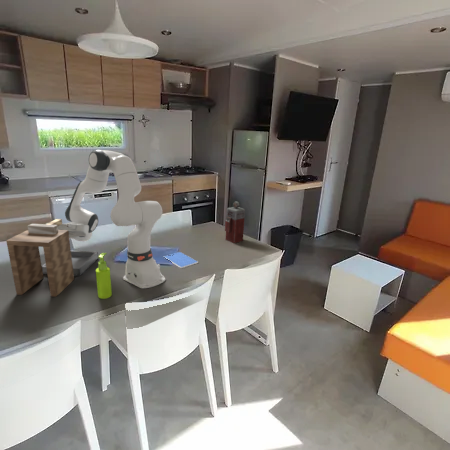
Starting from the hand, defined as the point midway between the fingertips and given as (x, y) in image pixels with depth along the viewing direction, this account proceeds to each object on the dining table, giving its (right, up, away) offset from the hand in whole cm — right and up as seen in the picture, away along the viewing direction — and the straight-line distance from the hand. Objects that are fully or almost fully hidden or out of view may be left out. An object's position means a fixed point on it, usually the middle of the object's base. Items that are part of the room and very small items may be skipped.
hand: (58, 224), depth 150 cm
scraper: (0, -2, -6) cm, 6 cm away
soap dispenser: (+28, -32, -11) cm, 44 cm away
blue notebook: (+57, -21, +28) cm, 67 cm away
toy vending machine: (+89, -11, +62) cm, 109 cm away
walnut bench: (-2, -29, -7) cm, 30 cm away
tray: (-1, -22, +15) cm, 27 cm away
